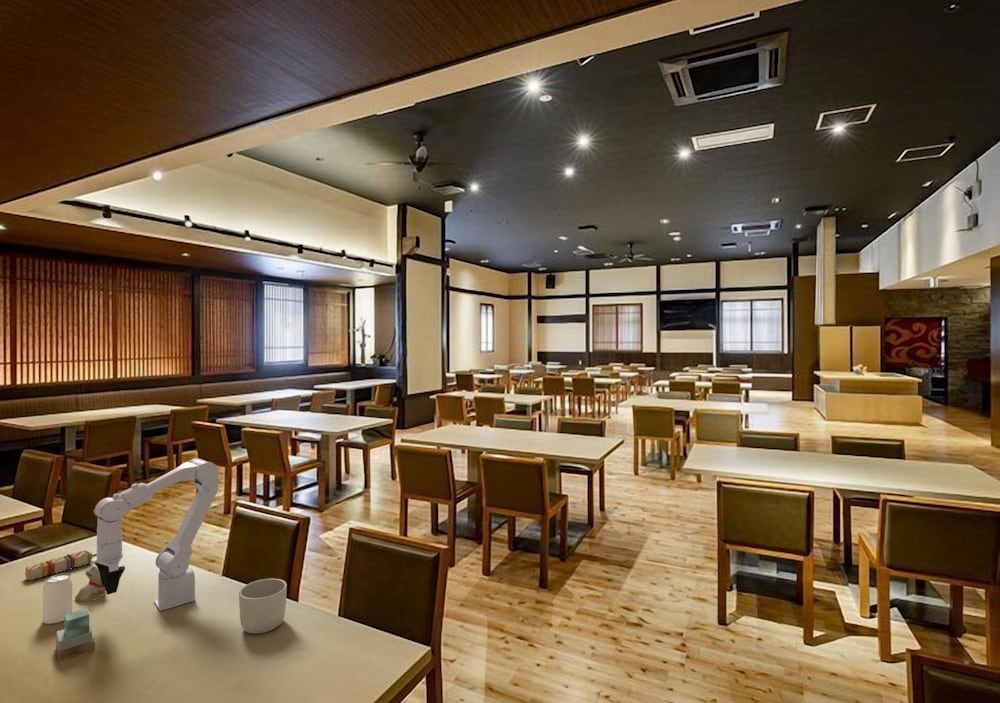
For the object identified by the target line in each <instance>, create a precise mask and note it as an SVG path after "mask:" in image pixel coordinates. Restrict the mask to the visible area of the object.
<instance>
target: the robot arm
mask: <svg viewBox="0 0 1000 703" xmlns="http://www.w3.org/2000/svg"><path fill="white" fill-rule="evenodd" d="M220 474H221V471H220V470H219V468H218V467H217V465H216V464H215V463H214V462H212V461H206V460H204V459H202V458H199V457H198V458H193V459H190V460H189V461H186V462H183V463H182V464H180V465H179V466H177V467H176V468H174V469H172V470H170V471H169V472H167V473H165V474H163V475H161V476H159V477H157V478H156V479H154V480H152V481H150V482H149V483H146V482H145V483H144V482H140V483H132V484H131V486H130V487H129V488H128V489H125V490H124V491H121V492H119V493H118V492H117V493H114V494H113V495H112V497H104V498H102V499H101V500H100V501H98V503H96V505H95V508H94V509H93V513H94V515H95V516H96V517H97V520H96V521H97V523H96V524H97V527H96V554H97V556H96V557H95V558H92V560H91V564H94V565H95V566H96V567H97V568H98V570H99V573H100V578H101V582H102V585H105V589H106V590H105V592H106V595H112V594H115V593H117V591H118V588H119V583H120V580H121V577H122V575H123V574H124V572H125V570H126V566H125V565H121V566H120V565H119V564H120V562H121V560H122V559H123V557H124V554H123V518H124V516H125V514H126V512H129V511H131V510H132V509H134V508H136V507H138V506H140V505H143V504H144V503H146V502H148V501H149V500H151V499H152V497H153V495H154V494H155V493H157V492H160V491H161V490H164V489H166V488H168V487H169V486H170V487H171V486H172V485H175V484H177V483H179V482H182V481H189V482H191V481H192V482H194V483H193V484H195V487H196V488H197V492H196V495H195V496H194V498H193V500H192V502H191V504H190V506H189V509H187V511H186V514H185V515H184V518H183V520H182V522H181V524H180V525H179V528H178V530H177V532H176V533H175V536H174V537H173V539H172V540H171V541H169V542H168V543H166V544H165V547H164V549H163V550H162V551H160V553H159V552H158V553H159V554H157V556H156V558H155V566H156V567H157V568H158V569H159V572H158V575H157V576H158V578H157V579H158V583H157V584H158V588H157V590H158V591H157V592H158V593H157V599H154V601H153V602H154V603H155V604H154V605H155V606H156V607H157V608H158V610H159V612H161V611H165V610H169V609H171V608H175V607H179V606H181V605H184V604H188V603H190V602H191V603H192V602H195V601H196V597H195V596H196V577H195V576H196V575H195V572H194V570H193V568H189V567H190V558H191V557H192V552H193V551H192V549H193V548H192V544H193V542H194V540H195V538H196V536H197V533H198V532H199V530H200V528H201V526H202V524H203V522H204V520H205V517H206V515H207V514H208V512H209V509H210V508H211V506H212V505H213V504H212V503H213V501H214V500H215V497H216V496H217V494H218V491H219V475H220Z"/></svg>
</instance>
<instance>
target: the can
mask: <svg viewBox="0 0 1000 703" xmlns="http://www.w3.org/2000/svg"><path fill="white" fill-rule="evenodd" d="M72 612H73V578H72V577H71V574H70V573H57V574H53V575H50V576H49V577H47V578H46V579H45V580H44V584H43V586H42V623H44V624H45V625H55V624H60V623H62V622H65V614H68V613H72Z"/></svg>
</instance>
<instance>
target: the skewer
mask: <svg viewBox="0 0 1000 703" xmlns="http://www.w3.org/2000/svg"><path fill="white" fill-rule="evenodd" d="M94 557H97V553H94V554H93V552H91V551H88V550H81V551H77V552H74V553H73V552H72V553H70V554H66V555H64V556H61V557H57V558H56V557H55V558H52V559H51V558H50V559H49V560H46V561H45V562H44V561H42V562H39V563H38V564H33V565H30V566H27V567H25V570H24V572H25V573H24V574H25V579H27V580H29V581H33V580H36V578H37V579H40V578H44V576H46V577H48V576H49V574H50V576H52V575H55V574H54V573H56V574H59V573H58V572H61V571H64V572H66V571H71V568H73V567H74V568H73V569H76V568H75V567H78V568H80V567H79V566H81V567H83V566H82V565H84V566H86V565H85V564H87V565H88V564H89V563H91V564H92V562H91V560H92V559H94ZM65 570H66V571H65ZM61 573H62V572H61ZM51 574H52V575H51ZM47 575H48V576H47Z"/></svg>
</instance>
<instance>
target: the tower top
mask: <svg viewBox="0 0 1000 703" xmlns="http://www.w3.org/2000/svg"><path fill="white" fill-rule="evenodd" d="M64 631H65V628H64V629H61V630H57V631H56V641H57V645H58V649H59V651H62V650H65V649H68V648H72V647H75V646H78V645H81V644H84V643H87V642H91V641H92V636H93V631H92V628H91V626H90V624H89V632H86V633H83V634H80V635H76V636H73V637H70V638H67V637H66V634H65V632H64Z"/></svg>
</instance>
